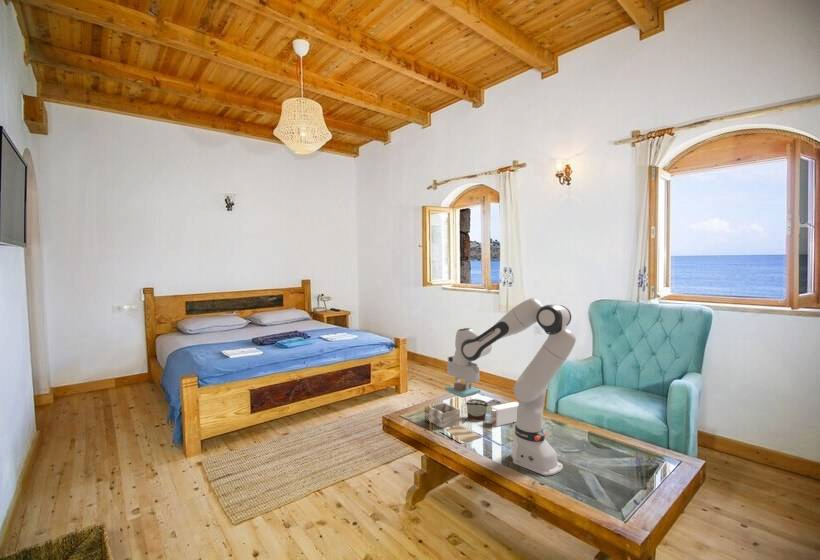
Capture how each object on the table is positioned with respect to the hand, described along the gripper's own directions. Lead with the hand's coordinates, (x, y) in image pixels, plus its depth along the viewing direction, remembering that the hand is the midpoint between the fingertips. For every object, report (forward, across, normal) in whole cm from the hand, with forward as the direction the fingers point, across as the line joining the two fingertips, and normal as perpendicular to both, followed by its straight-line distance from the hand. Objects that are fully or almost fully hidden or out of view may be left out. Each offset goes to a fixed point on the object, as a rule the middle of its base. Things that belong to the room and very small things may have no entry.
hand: (462, 387), depth 201 cm
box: (+24, +16, -3) cm, 29 cm away
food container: (+25, +11, -23) cm, 36 cm away
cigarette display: (+25, -2, -33) cm, 41 cm away
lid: (+3, 0, 0) cm, 3 cm away
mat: (+24, 0, 0) cm, 25 cm away
